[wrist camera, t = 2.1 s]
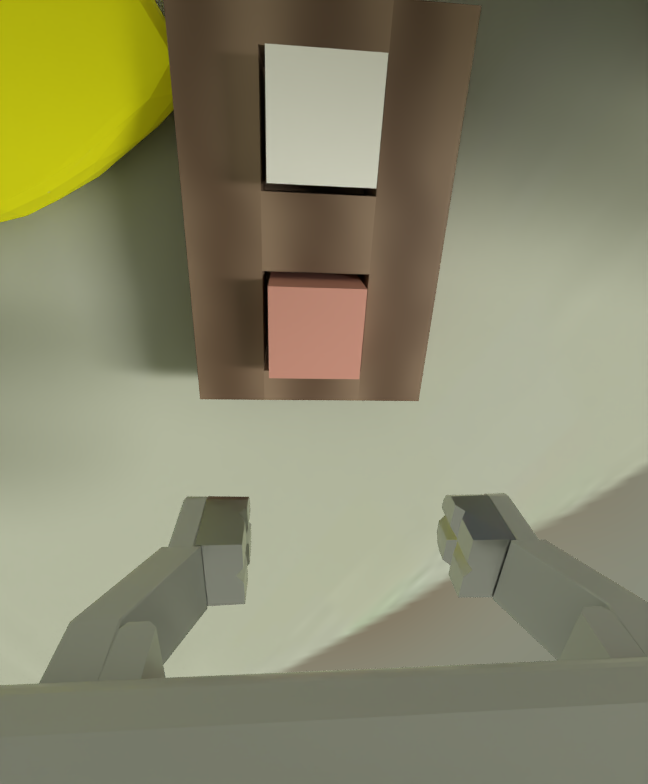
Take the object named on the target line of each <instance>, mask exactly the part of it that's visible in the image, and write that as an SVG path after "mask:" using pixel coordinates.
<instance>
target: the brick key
mask: <svg viewBox="0 0 648 784" xmlns="http://www.w3.org/2000/svg"><path fill="white" fill-rule="evenodd" d="M366 299H367V288H366V287H365V285H364V284H363V283H362V281H361V280H360V278H359V277H358V276H357V275H356V274H325V273H294V272H271V274H270V279H269V283H268V339H269V378H293V379H359V377H360V366H361V355H362V344H363V333H364V321H365V310H366Z"/></svg>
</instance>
